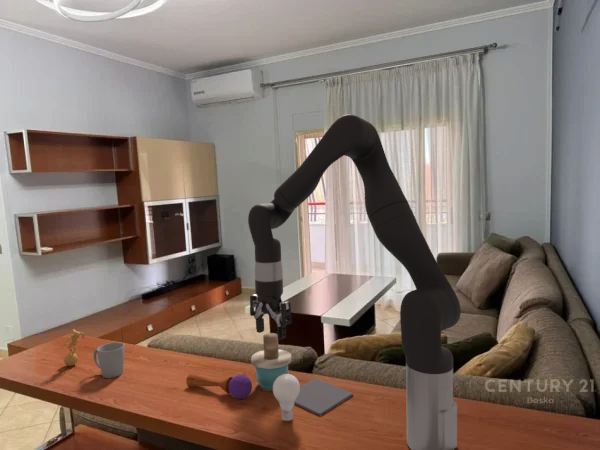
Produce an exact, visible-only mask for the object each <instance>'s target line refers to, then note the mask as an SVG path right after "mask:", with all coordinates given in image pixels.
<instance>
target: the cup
mask: <svg viewBox="0 0 600 450" xmlns="http://www.w3.org/2000/svg"><path fill="white" fill-rule="evenodd" d="M93 361H94V363H95V365H96V366H97V367H98V368H99V369H100V372H101V376H102V378H105V379H113V378H117V377H119V376H122V374H123V373H124V364H125V363H124V361H125V343H123V342H120V341H119V342H117V341H116V342H108V343H105V344H104V343H103V344H102V345H100V346H98V347H97V348H96V349H94V351H93Z"/></svg>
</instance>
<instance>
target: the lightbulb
mask: <svg viewBox="0 0 600 450" xmlns="http://www.w3.org/2000/svg"><path fill="white" fill-rule="evenodd" d="M300 386H301V385H300V382H299V380H298V378H297V377H296V376H294V374H290V373H288V374H282V375H280V376H279V377H277V378H276V380H275V381H274V384H273V391H272V393H273V395H274V398H275V399H276V400H277V402H278V404H279V407H280V409H281V420H282V421H284V422H290V421H292V420H293V419H294V407H295V404H294V402H295V400H296V399H297V397H298V395H299V392H300Z"/></svg>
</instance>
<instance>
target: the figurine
mask: <svg viewBox="0 0 600 450" xmlns="http://www.w3.org/2000/svg"><path fill="white" fill-rule="evenodd" d="M80 335H82V337H81V339H82V340H85V332H82V331H81V332H80V331H77V330H76V329H74V328H73V329H71V335H70V336H69V337H68V338H67V339H66V341H64V343H63V345H62V346H61V350H62V349H63V348H64V346H66V344H67V343H68V341H70V340H71V341H70V342H69V344H68V345H67V349H68V350H69V353H67V354H66V355H65V356H64V358H63V363H64V364H65V366H68V367H72V366H74V365H76V364H77V363H78V360H79V356H78V355H77V354H76V353H75V352H76V351H77V346H76V345H77V344H78V342H79V340H78V339H79V338H80ZM71 347H73V348H71ZM73 349H74V350H73Z"/></svg>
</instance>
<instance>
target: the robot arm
mask: <svg viewBox="0 0 600 450" xmlns="http://www.w3.org/2000/svg"><path fill="white" fill-rule="evenodd" d="M343 156H345V157H348V158H349V159H351V160H352V162H353V164H354V165H355V167H356V169H357V171H358V173H359V176H360V177H361V180H362V182H363V191H364V206H365V207H364V208H365V211H366V214H367V215H366V216H367V217H368V220H369V223H370V224H371V227H372V229H373V232H374V234H375V236H376V238H377V240H379V242H380V244H381V245H382V246H383V247H384V248H385V249H386V250H387V251H388V252H389V253H390V254H391V255H392V256H393V257H394V258H396V260H397V261H398V262H399V263H400V264H401V265H402V266H403V267H404V269H405V270H406V271H407V272H408V274H409V276H410V278H411V280H412V282H413V285H414V287H415V289H414V290H411V291H409V292H407V293H406V294H405V295H404V296H403V298H402V300H401V303H400V310H399V312H400V313H399V321H400V335H401V337H400V338H401V345H402V347H401V348H402V351H403V353H404V355H405V371H406V372H405V384H406V385H405V393H406V394H405V396H406V397H405V399H406V400H405V401H406V405H405V406H406V407H405V409H406V411H405V412H406V432H405V433H406V444H407V446H408V447H409V449H410V450H455V449H456V448H457V446H458V403H457V401H454V355H453V353H452V351H451V350H450V349H448V348H447V347H444V346H443V345H442V331H445V330H447V329H450V328H452V327H454V326H455V325H457V323H458V322H459V321H460V318H461V313H462V310H461V305H460V303H461V302H460V300H459V299H458V295H457V294H456V291H455V290H454V288H453V286H452V285H451V283H450V282H449V280H448V279H447V276H446V275H445V273H444V271H443V270H442V268H441V267H440V265H439V264H438V262H437V260H436V257H434V255H433V252H432V250H431V249H430V246H429V244H428V242H427V240H426V238H425V236H424V234H423V232H422V230H421V228H420V226H419V223H418V221H417V219H416V216H415V214H414V213H413V210H412V207H411V206H410V204H409V203H410V202H408V200H407V198H406V196H405V194H404V191H403V190H402V188H401V185H400V183H399V182H398V179H397V177H396V175H395V173H394V172H393V170H392V169H391V166H390V164H389V162H388V159H387V158H388V157H387V155H386V152H385V150H384V147H383V143H382V141H381V138H380V135H379V133H378V130H377V128H375V126H374V125H373V124H372V123H371V122H369V121H367V120H365V118H364V119H363V118H362V117H360V116H358V115H355V114H351V113H348V114H344V115H341V116H340V117H338V118H337V119H336V120H335V121H334V122H333V123H332V124H331V125H330V127H329V128H328V129H327V131H326V132H325V133H324V134H323V136H322V137H321V138H320V140H319V141H318V142H317V144H316V145H315V146H314V148H313V149H312V150H311V152H310V153H309V154H308V156H307V157H306V158H305V159H304V161H303V162H302V163H301V164H300V165H299V167H298V168H297V169H296V170H295V171H294V172H293V173H291V174H290V175H289V176H288V178H287V179H285V181H283V182H282V183H281V184H280V185H279V186H278V187H277V189H276V190H275V191H274V194H273V199H272V200H271V201H270V202H269V203H267V202H266V203H257V204H256V205H253V206H252V207H251V208H250V210H249V213H248V217H247V218H248V220H247V222H248V228H249V231H250V232H249V233H250V235H251V239H252V242H253V245H254V259H255V260H254V262H255V263H254V289H255V290H254V291H255V293H254V294H250V295H249V314H250V316H251V317H253V318H254V320H255V329H256V332H257V333H258V334H260V333H263V332H265V318H264V317H265V315H268V316H271V318H272V319H273V320H274V321H275V323H276V325H277V327H276V329H277V332H276V334H277V335H278V341H282V340H284V339H285V338H286V336H287V325H290V324H292V323H293V322H292V320H293V319H292V309H291V302H290V300H289V301H283V299H282V295H283V293H284V281H283V280H284V279H283V277H284V274H283V263H282V246H281V242H280V240H279V239H277V238H274V236H273V231H272V230H274V229H278V228H279V227H281V226H282V225H284V224H285V223H286V222H287V221H288V219H289V218H290V217H291V215H292V214H293V212H294V211H295V209H297V208H298V207H299V206H301V204H302V203H304V202H305V201H306V200H307V199H308V198H309V197H311V195H312V194H313V193H314V191H315V190H316V189H317V187H318V185H319V183H320V182H321V180H322V177H323V175H324V174H325V172H326V171H327V169H328V168H329V167H330V166H331V165H333V164H334V163H335V162H337V161H338V160H339V159H341V158H342V157H343Z"/></svg>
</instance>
